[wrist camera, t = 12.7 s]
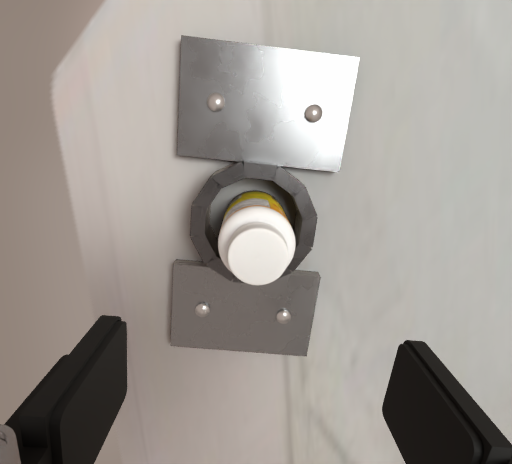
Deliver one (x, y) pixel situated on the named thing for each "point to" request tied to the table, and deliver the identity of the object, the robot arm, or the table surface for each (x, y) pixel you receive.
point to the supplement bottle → (256, 238)
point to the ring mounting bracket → (258, 167)
